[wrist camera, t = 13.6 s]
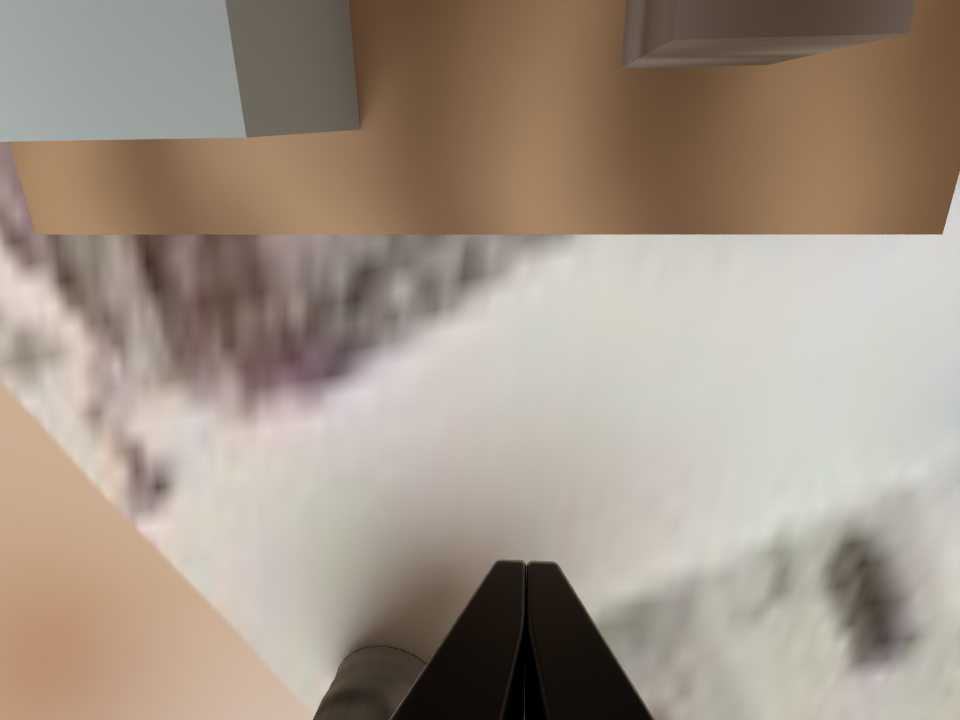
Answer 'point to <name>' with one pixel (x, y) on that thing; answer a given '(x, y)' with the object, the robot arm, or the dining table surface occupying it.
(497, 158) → the stand
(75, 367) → the dining table surface
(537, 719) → the robot arm
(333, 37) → the matte gray-blue cube
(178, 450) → the dining table surface
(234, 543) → the dining table surface
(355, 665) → the beverage cup
